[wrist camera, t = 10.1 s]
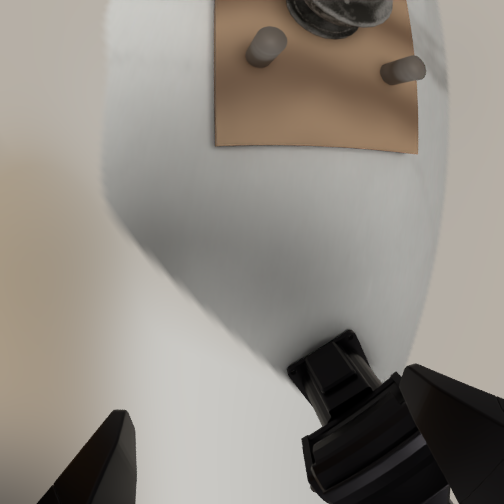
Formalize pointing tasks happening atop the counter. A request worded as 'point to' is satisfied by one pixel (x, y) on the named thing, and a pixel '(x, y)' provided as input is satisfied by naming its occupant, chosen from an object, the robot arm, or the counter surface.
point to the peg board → (313, 81)
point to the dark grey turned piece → (338, 15)
